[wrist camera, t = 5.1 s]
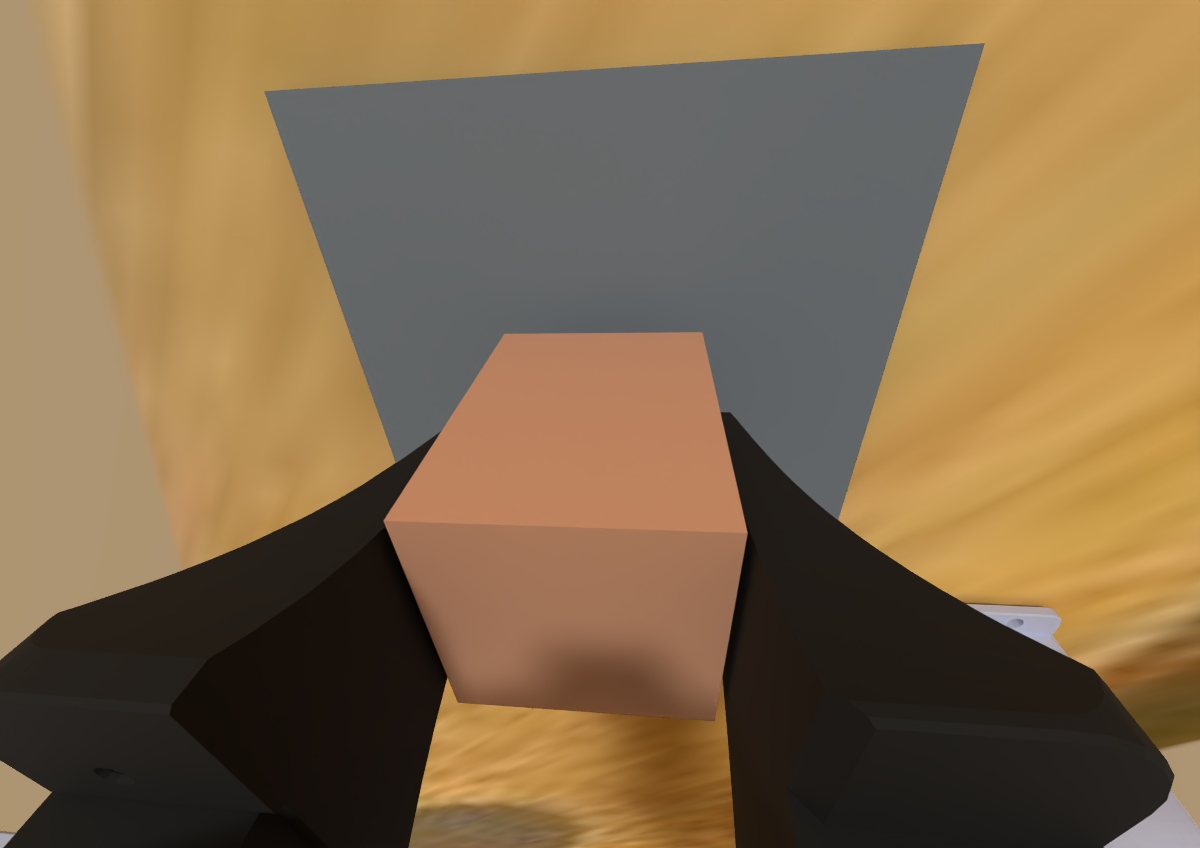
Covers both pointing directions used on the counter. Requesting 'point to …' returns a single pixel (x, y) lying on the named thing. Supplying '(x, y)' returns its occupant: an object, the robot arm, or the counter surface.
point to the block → (580, 528)
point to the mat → (638, 226)
